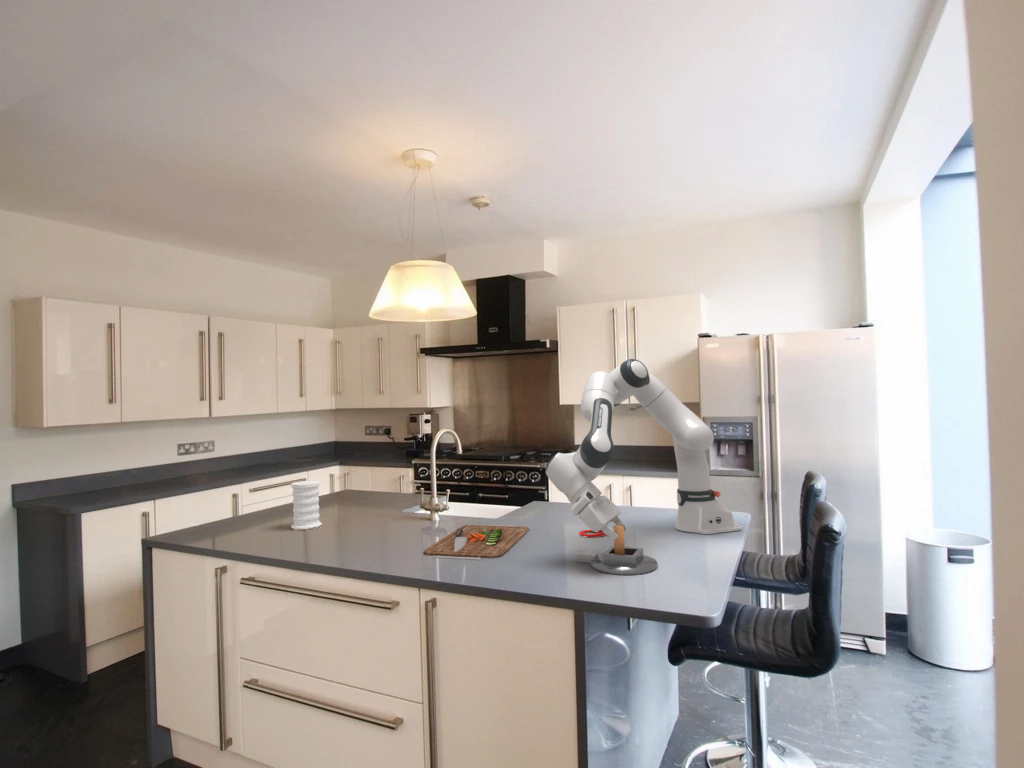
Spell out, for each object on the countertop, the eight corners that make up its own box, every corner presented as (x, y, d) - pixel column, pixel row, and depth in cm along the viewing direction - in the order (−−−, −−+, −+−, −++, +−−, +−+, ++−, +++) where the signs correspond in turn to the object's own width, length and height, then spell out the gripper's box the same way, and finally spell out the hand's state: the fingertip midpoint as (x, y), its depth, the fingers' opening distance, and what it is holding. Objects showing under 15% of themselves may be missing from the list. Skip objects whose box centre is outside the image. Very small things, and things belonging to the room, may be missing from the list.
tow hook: (580, 539, 201) (607, 537, 201) (577, 502, 202) (603, 500, 201) (578, 533, 210) (604, 531, 209) (575, 498, 210) (601, 496, 210)
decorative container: (285, 529, 231) (284, 483, 231) (310, 523, 241) (309, 479, 241) (303, 532, 224) (301, 485, 225) (327, 526, 234) (326, 481, 234)
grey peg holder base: (587, 552, 182) (587, 539, 182) (663, 559, 172) (662, 545, 172) (566, 569, 165) (566, 555, 165) (649, 578, 155) (649, 563, 155)
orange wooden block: (623, 559, 170) (622, 525, 170) (626, 562, 167) (625, 527, 167) (613, 560, 169) (612, 525, 170) (616, 563, 166) (615, 528, 167)
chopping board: (497, 562, 176) (497, 552, 176) (417, 558, 183) (416, 549, 184) (532, 528, 220) (532, 520, 220) (466, 526, 227) (466, 519, 227)
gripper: (591, 500, 183) (622, 533, 178) (569, 512, 164) (603, 550, 160) (604, 486, 181) (636, 519, 177) (583, 497, 162) (619, 535, 158)
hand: (620, 534), depth 168 cm, fingers open, 8 cm apart
